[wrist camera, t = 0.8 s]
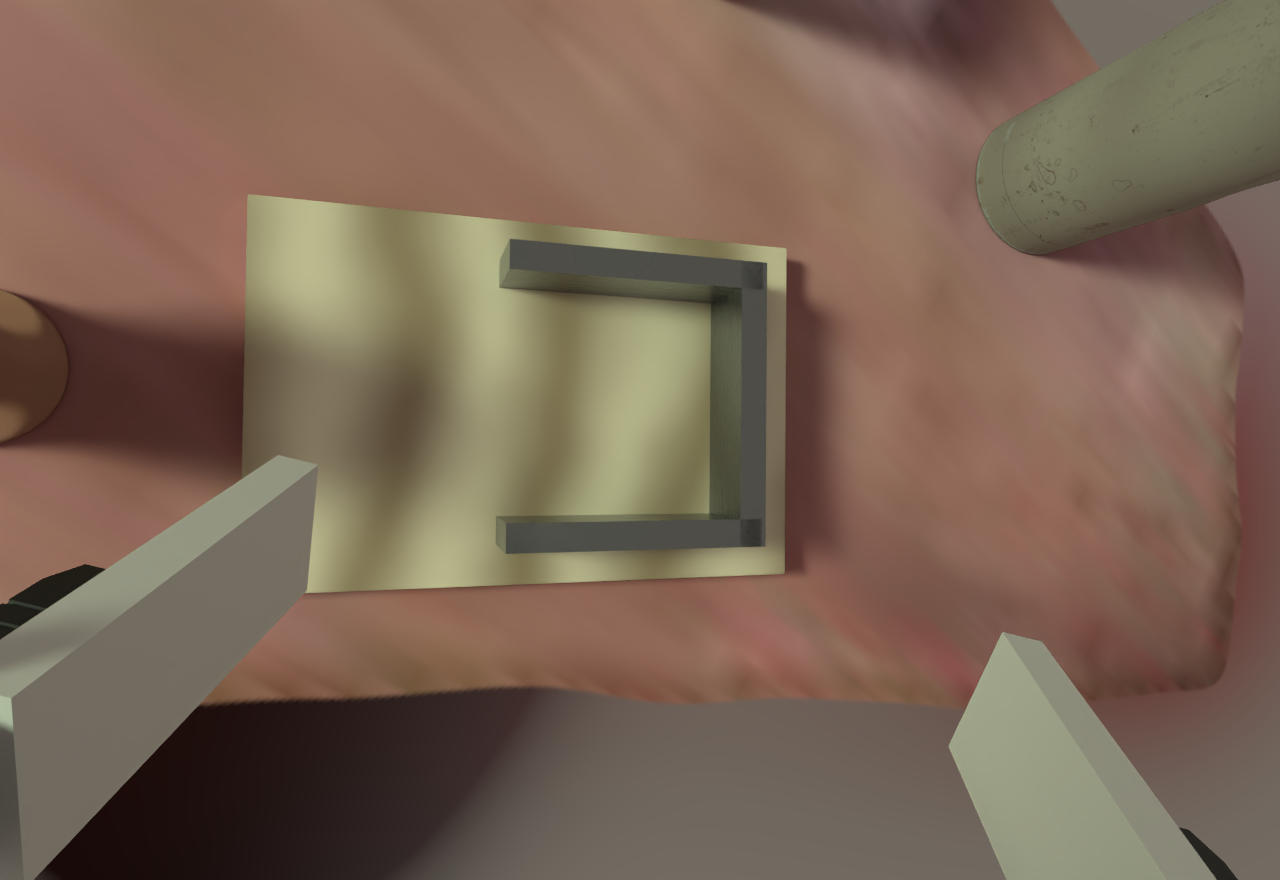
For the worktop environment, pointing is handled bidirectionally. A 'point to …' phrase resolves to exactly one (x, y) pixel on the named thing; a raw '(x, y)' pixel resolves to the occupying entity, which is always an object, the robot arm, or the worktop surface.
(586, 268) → the bracket
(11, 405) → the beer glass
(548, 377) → the board
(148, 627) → the robot arm
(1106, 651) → the worktop surface
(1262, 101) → the thermos bottle
